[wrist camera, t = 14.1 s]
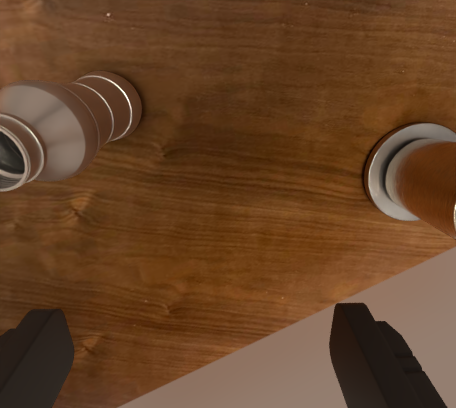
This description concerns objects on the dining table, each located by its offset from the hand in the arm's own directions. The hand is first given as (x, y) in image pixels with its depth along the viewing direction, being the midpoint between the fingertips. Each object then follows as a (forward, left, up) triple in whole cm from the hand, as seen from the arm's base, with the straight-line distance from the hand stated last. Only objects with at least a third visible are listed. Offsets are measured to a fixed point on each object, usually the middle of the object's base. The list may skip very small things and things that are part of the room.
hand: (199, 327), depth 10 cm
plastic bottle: (-3, -11, -29) cm, 31 cm away
